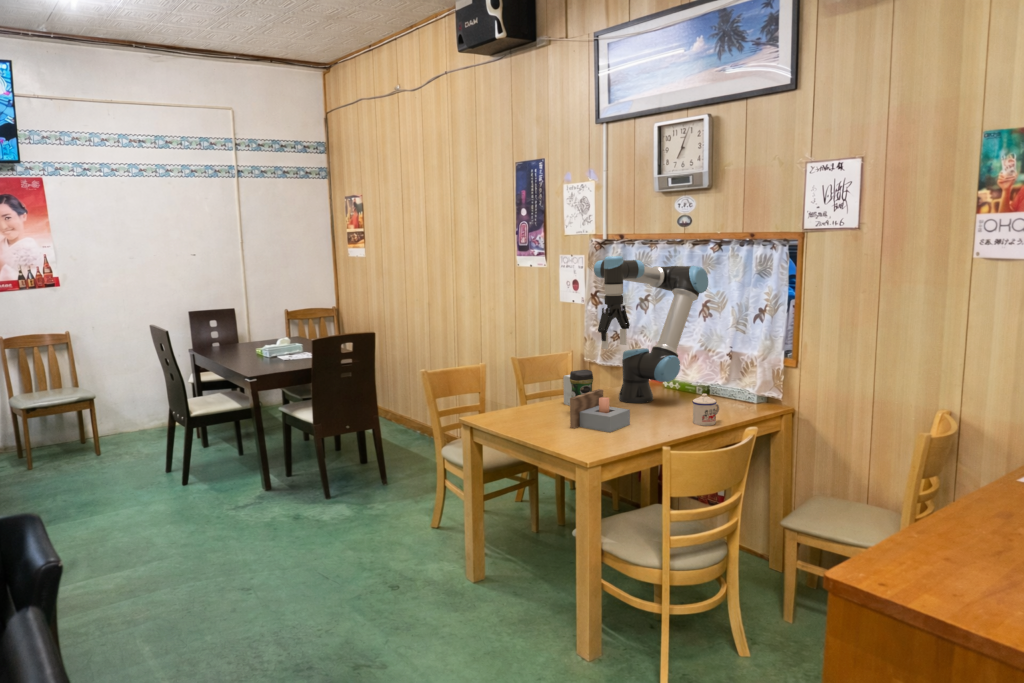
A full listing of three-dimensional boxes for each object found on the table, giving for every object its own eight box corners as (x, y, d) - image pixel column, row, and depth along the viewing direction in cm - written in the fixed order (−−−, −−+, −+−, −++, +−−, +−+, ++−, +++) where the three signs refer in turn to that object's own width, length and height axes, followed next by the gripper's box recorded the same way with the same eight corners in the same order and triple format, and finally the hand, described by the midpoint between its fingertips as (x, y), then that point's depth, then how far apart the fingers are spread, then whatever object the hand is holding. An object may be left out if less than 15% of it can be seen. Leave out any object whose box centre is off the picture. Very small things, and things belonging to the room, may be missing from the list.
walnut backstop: (599, 417, 294) (599, 389, 292) (603, 418, 292) (603, 389, 291) (570, 428, 279) (569, 398, 277) (574, 429, 277) (574, 398, 276)
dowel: (611, 423, 280) (611, 398, 279) (605, 425, 277) (605, 399, 276) (602, 421, 282) (602, 396, 281) (597, 423, 279) (596, 398, 278)
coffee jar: (588, 410, 307) (587, 367, 304) (596, 414, 300) (596, 370, 297) (567, 412, 304) (566, 369, 301) (575, 417, 296) (574, 372, 294)
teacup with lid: (703, 427, 274) (703, 397, 273) (687, 422, 282) (687, 393, 281) (727, 423, 280) (727, 393, 278) (710, 418, 288) (710, 389, 286)
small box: (572, 406, 315) (571, 377, 313) (563, 404, 320) (562, 375, 319) (586, 403, 319) (586, 375, 318) (577, 401, 325) (577, 373, 323)
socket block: (599, 419, 290) (599, 405, 289) (629, 424, 281) (629, 409, 280) (579, 427, 279) (579, 411, 279) (610, 432, 270) (610, 416, 270)
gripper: (622, 292, 302) (622, 342, 305) (588, 296, 283) (589, 350, 286) (637, 292, 297) (638, 343, 300) (604, 297, 278) (605, 351, 281)
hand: (614, 346), depth 293 cm, fingers open, 13 cm apart
